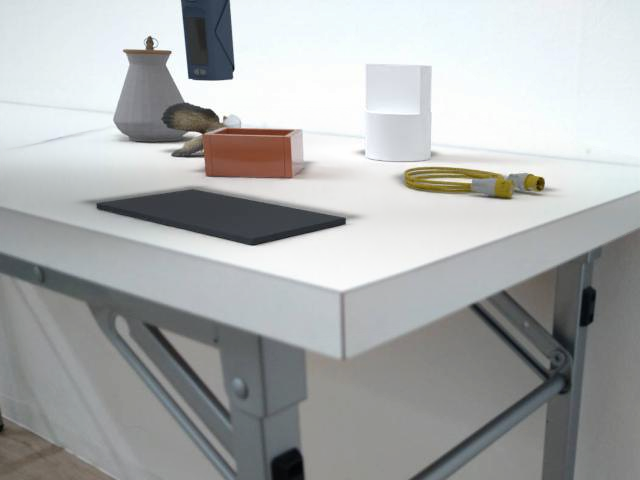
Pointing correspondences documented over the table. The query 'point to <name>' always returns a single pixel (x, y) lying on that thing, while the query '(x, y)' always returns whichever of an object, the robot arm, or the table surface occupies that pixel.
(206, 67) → the vaping device
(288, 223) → the mat
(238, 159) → the open box
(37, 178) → the table surface
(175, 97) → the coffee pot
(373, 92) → the base with upright slab
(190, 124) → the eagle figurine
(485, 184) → the extension cord
